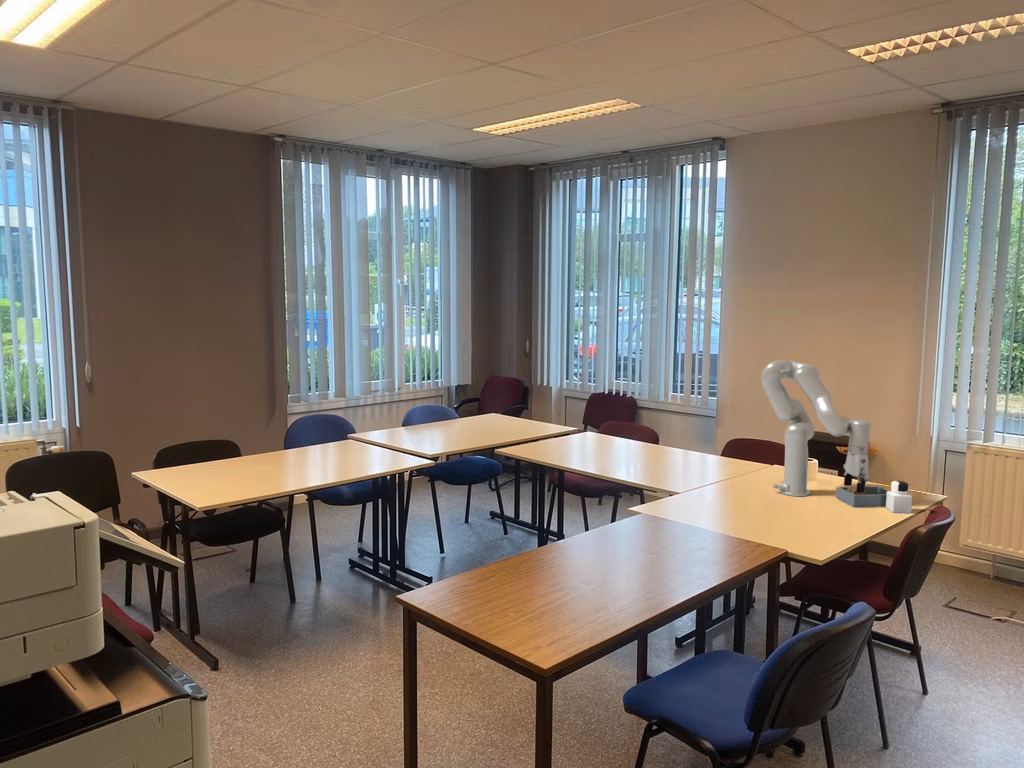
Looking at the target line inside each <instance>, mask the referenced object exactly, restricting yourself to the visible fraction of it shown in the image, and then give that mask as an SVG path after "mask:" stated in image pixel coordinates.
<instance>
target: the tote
mask: <svg viewBox="0 0 1024 768" xmlns="http://www.w3.org/2000/svg"><path fill="white" fill-rule="evenodd" d="M856 487H857V486H836V489H835V490H836V491H835V499H836V498H837V500H838V499H839V500H838V501H840V500H841V502H842V501H843V502H842V503H844V502H845V503H844V504H846V503H847V504H846V505H848V504H849V506H850V505H851V506H850V507H852V506H853V507H852V508H866V507H865V506H886V496H887V491H890V489H889V490H888V489H886V488H883V486H880V485H871V486H870V485H869V486H867V485H865V490H866V491H865V495H854V494H852V493H850V492H848V488H856Z"/></svg>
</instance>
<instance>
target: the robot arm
mask: <svg viewBox="0 0 1024 768" xmlns="http://www.w3.org/2000/svg"><path fill="white" fill-rule="evenodd" d="M782 379H786V380H792V381H795V383H796V384H797V386H798V387H799V388H800V389H801V391H802V393H803V394H804V395H805V396H806V398H807V399H808V401H809V402H810V403H811V405H812V408H813V410H814V413H815V415H816V417H817V418H818V420H819V422H820V423H821V424H822V426H823V427H824V429H825V430H826V431H827V433H829V434H830V435H831V436H833V437H837V438H838V437H842V436H844V435H849V437H848V447H847V454H846V458H845V459H846V460H845V463H844V464H843V466H842V467H843V472H844V473H843V476H844V478H843V480H844V481H843V486H844V487H852V484H853V477H854V478H856V479H857V482H856V487H857V490H856V492H864V490H865V486H866V484H867V482H868V480H869V479H868V478H869V454H868V453H869V452H868V451H869V444H870V443H869V442H870V433H871V422H870V421H868V420H867V419H865V420H864V419H855V418H851V417H847V416H839V415H838V413H837V412H836V410H835V409H834V407H833V405H832V402H831V394H830V391H829V390H828V388H827V387H826V386H825V385H824V383H823V382H822V381H821V379H820V372H819V369H818V368H817V367H816V365H815V366H814V365H812V364H809V363H805V362H799V361H795V360H790V359H783V358H782V359H777V360H774V361H771V362H769V363H768V364H767V365H765V367H764V368H763V369H762V371H761V375H760V384H761V387H762V389H763V391H764V393H765V394H766V396H767V399H768V401H769V404H770V405H771V407H772V409H773V411H774V413H775V416H776V417H777V418H778V420H779V421H782V422H787V423H788V426H787V427H786V428H785V431H784V434H783V435H784V437H783V439H784V468H783V469H784V471H783V481H781V483H779V484H778V483H773V485H772V488H773V489H778V490H779V492H780V493H781V494H783V495H786V496H790V497H791V496H792V497H807V496H810V495H811V491H810V490H809V489H807V486H808V469H809V468H808V467H809V465H808V464H809V447H808V441H810V440H811V439H812V438H813V437H814V435H815V431H816V430H815V427H814V424H813V422H812V420H811V418H810V415H809V414H808V412H807V410H806V408H805V406H804V405H803V403H802V402H801V401H800V400H798V399H796V398H791V396H790V394H789V392H788V391H787V389H786V387H785V386H784V384H783V382H782Z"/></svg>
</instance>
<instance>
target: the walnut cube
mask: <svg viewBox="0 0 1024 768" xmlns="http://www.w3.org/2000/svg"><path fill="white" fill-rule="evenodd" d="M855 487H856V488H848V492H850V493H852V494H854V495H865V491H866V490H864V492H856V490H857V486H855Z"/></svg>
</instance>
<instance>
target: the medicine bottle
mask: <svg viewBox="0 0 1024 768" xmlns="http://www.w3.org/2000/svg"><path fill="white" fill-rule="evenodd" d="M890 485H891V486H890V490H889V491H887V496H886V507H885V508H886V509H887V510H888V511H890V512H892V513H893V512H894V513H893V514H911V513H912V506H913V505H912V504H913V503H912V502H913V495H911V494H908V493H909V483H908V482H906V481H903V480H894V481H891V484H890Z"/></svg>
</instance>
